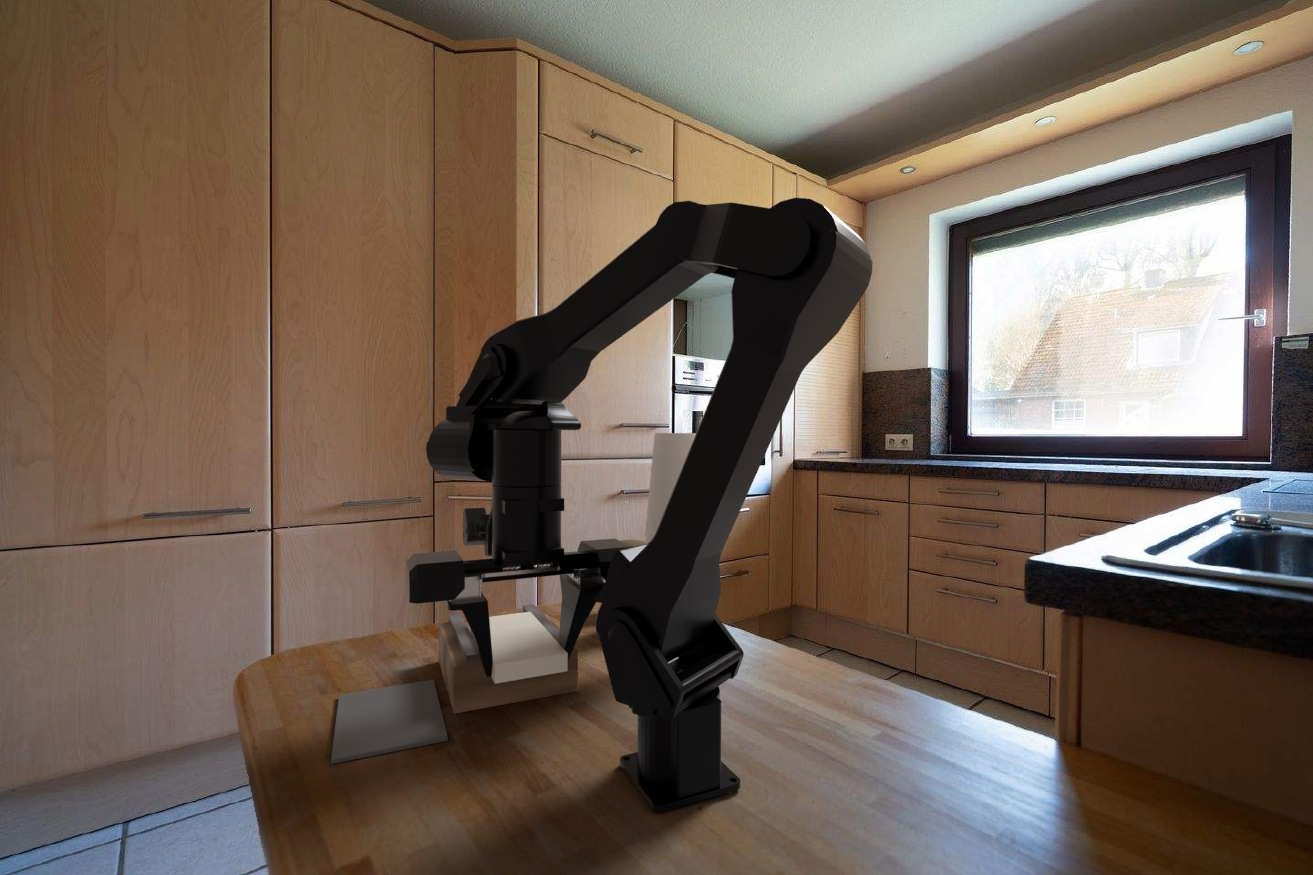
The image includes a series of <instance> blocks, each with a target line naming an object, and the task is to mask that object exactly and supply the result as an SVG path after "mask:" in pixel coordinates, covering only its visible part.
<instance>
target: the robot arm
mask: <svg viewBox="0 0 1313 875" xmlns="http://www.w3.org/2000/svg"><path fill="white" fill-rule="evenodd" d="M710 274H714V275H719V276H722V277H727V278H731V279H734V280H733V283H732V287H731V288H732V289H731V316H732V317H731V318H732V320H731V322H732V325H731V326H732V341H731V346H730V348H729V349H730V350H729V352H728V354H727V356H726V359H725V361H724V364H723V366H722V369H721V372H720V373H719V376H718V378H717V381H716V384H715V386H714V388H713V391H712V393H711V395H710V399H709V401H708V402H707V405H706V409H705V411H704V414H703V416H702V418H701V421H700V423H699V425H698V428H697V430H696V432H695V433H696V435H695V437H694V440H693V442H692V445H691V447H690V450H689V452H688V455H687V457H686V460H685V462H684V464H683V467H682V469H681V472H680V474H679V477H678V479H677V482H676V484H675V487H674V489H673V492H672V494H671V496H670V499H669V501H668V504H667V506H666V509H665V511H664V514H663V516H662V519H661V521H660V524H659V526H658V528H657V531H656V533H655V535H654V537H653V538H652V540H651V541H650V542H649V543H648V544H643V545H639V546H635V547H633V546H631V545H628V544H626V543H624V542H621V541H622V540H619V539H617V538H603V539H591V540H581V541H580V542H579V545H578V548H577V551H568V552H567V551H566V552H565V548H563V547H562V512H564V511H565V498H564V497H562V431H580V430H581V428H582V422H581V421H580V420H579V419H578V418H577V417H576V416H575V415H574V414H572V413H571V412H570V411H569V410H568V409H567V407H566V406H565V403H564V400H565V399H567V398H568V397H569V395H570V394H572V393H573V391H574V390H575V389H577V387H579V386H580V385H581V383H582V382H583V381H584V380H585V379H586V378H587V376H588V373H589V370H590V367H591V365H592V364H591V363H592V361H593V360H594V359H595V358H596V357H597V356H598V355H599V354H600V353H601V352H602V351H604V350H605V349H607V348H608V347H609V346H610V345H612V344H614V343H616V341H617V340H619V339H620V338H621V337H623V336H625V335H626V334H627V333H628V332H630V331H631V330H633V329H634V328H636V327H637V326H638V325H640V324H641V323H642V322H644V321H645V320H646V319H648V318H649V317H651V315H653V314H654V313H656V312H657V311H659V310H660V309H661V308H663V307H664V306H666V305H667V304H668V303H670V302H671V301H673V300H674V299H675V298H676V297H678V296H679V295H680V294H682V293H683V292H685V291H686V290H688V289H689V288H690V287H691V286H693V285H695V284H696V283H697V282H698V281H700V280H701V279H703V278H704V277H705V276H708V275H710ZM872 274H873V260H872V258H871V254H870V251H869V249H868V246H867V244H866V243H865V241H864V240H863V239H862V238H861V237H860V235H859V234H858V233H857V232H855V231H854V229H851V227H849V226H848V225H847V224H846V223H845V222H844V221H842V220H841V218H839V217H837V215H835V214H834V213H833V212H832V211H830V210H829V208H827V207H826V206H825V205H823V204H821V203H819V202H818V201H815V200H813V199H811V198H808V197H807V198H805V197H793V198H789V199H786V200H785V199H784V200H781V201H779V202H778V203H776V204H774V205H772V206H771V207H763V206H757V205H752V204H744V203H738V202H724V203H723V202H721V203H713V204H712V203H711V204H703V203H698V202H695V201H693V200H684V201H674V202H673V203H671V204H669V205H668V206H666V207H665V208H664V210H662V212H661V213H660V214H659V216H658V218H657V221H656V223H655V224H654V225H653V226H652V227H650V229H648V230H647V231H646V232H645V233H643V234H642V235H641V236H640V237H639V238H637V239H636V240H635V241H634V242H633V243H631V244H630V245H629V246H628V247H626V248H625V249H624V250H623V251H622V252H621V253H619V254H618V255H617V256H616V257H614V258H613V259H612V260H611V261H609V263H608V264H606V265H605V266H603V268H601V269H600V270H599V271H597V273H595V274H594V275H592V277H590V278H589V279H588V280H587V281H586V282H584V283H583V284H581V286H579V288H577V289H576V290H575V291H574V292H573V293H571V294H570V295H569V296H568V297H566V298H565V299H564V300H563V301H562V302H561V303H559V304H558V305H557V306H556V307H553V308H552V309H550V310H548V311H546V312H545V313H541V314H538V315H533V316H530V317H525V318H523V319H519V320H515V321H514V322H512V323H510V324H509V325H507V326H504V327H502V329H499V330H498V331H496V332H494V333H493V334H492V335H490V336H489V337H488V338H487V340H486V341H484V343H483V345H482V347H481V349H480V353H479V355H478V357H477V360H476V361H475V364H474V366H473V369H472V370H471V372H470V375H469V377H468V379H467V381H466V383H465V384H464V387H463V388H462V389H461V391H460V392H459V393H458V397H459V399H458V401H457V403H456V405H452V406H449V405H448V406H446V408H445V419H444V420H442V421H441V422H438V424H436V426H434V428H433V429H432V431H431V433H430V435H429V439H428V441H427V442H426V444H425V445H426V446H425V447H426V448H425V451H426V459H427V460H428V463H429V465H430V466H431V468H432V469H433V471H434V472H435V473H436V474H437V475H439V476H441V477H443V478H447V479H453V480H465V481H466V480H467V481H478V482H479V481H480V482H491V502H490V503H491V505H490V506H491V507H490V508H491V509H490V512H489V513H488V514H487V510H486V509H487V508H485V507H469V508H468V507H467V508H464V509H463V511H462V541H463V545H464V546H465V547H470V546H483V548H484V549H483V550H484V556H485V557H491V558H480V559H471V560H470V559H469V560H464V559H463V557H462V556H461V555H460V553H459V552H458V551H457V550H447V551H446V550H445V551H434V552H431V551H430V552H419V553H418V552H417V553H416V552H415V553H412V554H411V556H410V557H409V558H408V559H407V561H406V562H405V588H406V594H407V597H408V602H409V603H411V604H417V605H418V604H419V605H420V604H427V603H428V604H429V603H438V602H444V603H445V606H446V609H447V610H449V611H453V612H454V611H462V613H463V616H464V618H465V620H467V622H468V624H469V627H470V629H471V632H472V635H473V638H474V641H475V644H476V647H477V650H478V653H479V657H480V660H481V663H482V666H483V669H484V672H485V674H486V676H487V677H491V676H492V664H493V656H492V644H491V633H490V621H489V617H490V612H489V600H488V599H487V598H486V596H485V594H484V593H483V591H482V588H483V584H484V583H491V582H501V581H511V580H512V581H513V580H514V581H515V580H523V579H533V578H542V577H543V578H544V577H553V576H559V583H560V589H561V590H560V591H561V607H560V618H559V629H560V630H559V645H560V646H561V647H562V648H563V649H564V650H565V651H566V652H567V653H568V660H569V658H570V656H571V653H572V651H573V649H574V646H575V645H576V644H577V641H578V639H579V637H580V634H581V632H582V629H583V627H584V625H585V623H586V621H587V620H588V617H589V616H590V614H591V612H592V610H593V609H594V608H595V606H596V603H600V605H599V607H598V610H597V614H596V617H595V631H596V633H597V634H598V637H599V642H600V647H601V650H602V653H603V657H604V662H605V665H606V668H607V670H606V671H607V672H608V677H609V680H610V681H609V682H610V685H611V688H612V693H613V696H614V700H615V701H616V702H617V703H620V704H623V705H625V706H627V707H629V709H630V710H631V713H632V714H633V715H636V716H637V751H636V752H632V753H628V754H624V755H621V756H620V757H619V765H620V768H622V770H623V771H624V773H625V775H627V777H628V778H629V779H630V781H631V782H632V784H633V785H634V786H635V787H636V789H637V790H638V791H639V793H640V795H641V796H642V797H643V798H644V800H645V801H646V802H647V804H648V805H649V807H650V808H651V809H652V810H653V811H655V812H657V813H660V812H661V813H662V812H666V811H670V810H673V809H676V808H679V807H683V806H686V805H689V804H690V805H691V804H693V803H698V802H701V801H703V800H707V799H710V798H714V797H718V796H721V795H724V794H728V793H731V792H735V791H738V790H740V789H741V779H740V777H739V776H738V775H736V773H735V772H733V771H732V770H731V769H730V768H729V767H728V766H727V765H726V764H725V763H724V762H723V761H722V700H721V697H720V696H721V692H720V691H721V689H720V685H723V683H724V684H725V683H726V682H727V681H728V680H732V679H734V678H735V677H737V675H738V672H739V669H740V668H741V665H742V661H743V658H744V656H745V653H744V650H743V648H741V646H740V644H739V643H738V642H737V641H736V639H735V638H734V637H733V636H732V634H731V632H730V631H729V630H728V628H726V626H725V624H724V623H723V622H722V621H721V619H720V618H719V617H718V616H717V614H716V613H717V610H718V606H719V600H720V597H721V594H722V589H721V588H722V586H721V585H722V584H721V573H720V572H721V571H720V559H721V555H722V552H723V550H724V548H725V546H726V543H727V541H728V539H729V537H730V535H731V532H732V530H733V528H734V526H735V523H736V521H737V519H738V516H739V514H740V512H741V510H742V507H743V505H744V503H745V501H746V498H747V496H748V494H749V492H750V489H751V486H752V484H753V483H754V480H755V477H756V476H757V474H758V471H759V469H760V466H761V464H762V462H763V460H764V457H765V456H766V453H767V451H768V448H769V446H770V444H771V442H772V439H773V437H774V435H775V433H776V431H777V428H778V427H779V423H780V421H781V419H782V417H783V416H784V413H785V411H786V408H787V406H788V404H789V402H790V399H791V397H792V395H793V393H794V390H795V388H796V385H797V383H798V381H799V379H800V377H801V374H802V373H803V372H804V370H805V368H806V367H807V366H808V364H810V363H811V362H812V361H813V360H814V358H816V356H817V355H818V354H819V353H821V351H822V350H823V349H824V348H825V347H826V346H827V345H828V344H829V343H830V342H831V341H832V340H833V339H834V338H835V337H836V336H837V335H838V333H839V332H840V331H841V329H842V328H843V326H844V325H845V323H846V322H847V320H848V319H849V317H850V316H851V314H852V313H853V311H854V310H855V308H856V306H857V305H858V303H859V302H860V300H861V299H862V297H863V296H864V294H865V293H866V291H867V288H868V287H869V284H870V281H871V278H872ZM677 657H678V659H676V660H674V661H672V660H673V659H675V658H677ZM670 661H672V662H670ZM668 662H670V663H668Z"/></svg>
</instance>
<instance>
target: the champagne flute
mask: <svg viewBox="0 0 1313 875" xmlns="http://www.w3.org/2000/svg"><path fill="white" fill-rule="evenodd" d="M695 435H696V432H692V433H691V432H690V433H689V432H686V433H685V432H682V433H681V432H676V433H675V432H672V433H671V432H655V433H654V437H653V445H652V446H653V447H652V458H651V468H650V479H649V489H648V498H647V499H648V500H647V508H646V510H647V511H646V522H645V528H644V529H645V531H644V538H645V542H647V544H648V543H649V542H650V541H651V540H652V538H653V537H654V535H655V533H656V531H657V528H658V526H659V524H660V521H661V519H662V516H663V514H664V511H665V509H666V506H667V504H668V501H669V499H670V496H671V494H672V492H673V489H674V487H675V484H676V482H677V479H678V477H679V474H680V472H681V469H682V467H683V464H684V462H685V460H686V457H687V455H688V452H689V450H690V447H691V445H692V442H693V440H694V437H695ZM676 659H678V657H677V658H675V659H673V660H672V661H674V660H676ZM672 661H670V662H672ZM670 662H668V663H670Z"/></svg>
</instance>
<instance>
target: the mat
mask: <svg viewBox="0 0 1313 875" xmlns="http://www.w3.org/2000/svg"><path fill="white" fill-rule="evenodd" d="M436 688H437V687H436V685H435V680H434V679H429V680H428V679H427V680H423V681H414V682H411V683H410V682H409V683H404V684H398V685H390V686H385V687H380V688H379V687H378V688H372V689H366V690H365V689H364V690H360V691H354V692H348V693H346V692H345V693H340V694H339V695H338V701H337V710H336V717H335V718H336V719H335V726H334V733H333V743H332V750H331V759H330V764H331V765H334V764H338V763H344V762H347V761H353V760H359V759H364V758H368V757H373V756H377V755H384V754H388V753H393V752H397V751H399V752H400V751H403V750H408V749H413V748H419V747H423V746H428V745H431V744H432V745H434V744H436V743H437V744H438V743H442V742H448V741H449V740H448V734H447V733H448V732H447V729H446V726H445V722H444V718H443V716H444V715H443V713H442V709H441V704H440V702H439V701H440V700H439V697H438V693H437V692H438V691H437V689H436Z"/></svg>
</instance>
